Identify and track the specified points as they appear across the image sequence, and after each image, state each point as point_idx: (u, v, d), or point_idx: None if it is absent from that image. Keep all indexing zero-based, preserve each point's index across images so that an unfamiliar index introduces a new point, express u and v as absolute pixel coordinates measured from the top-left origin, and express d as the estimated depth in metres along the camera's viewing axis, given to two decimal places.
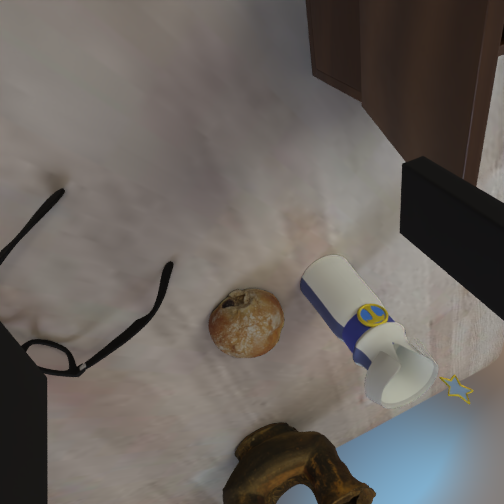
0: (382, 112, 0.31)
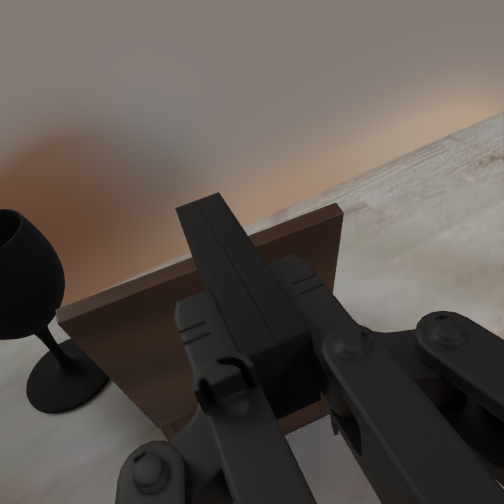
0: None
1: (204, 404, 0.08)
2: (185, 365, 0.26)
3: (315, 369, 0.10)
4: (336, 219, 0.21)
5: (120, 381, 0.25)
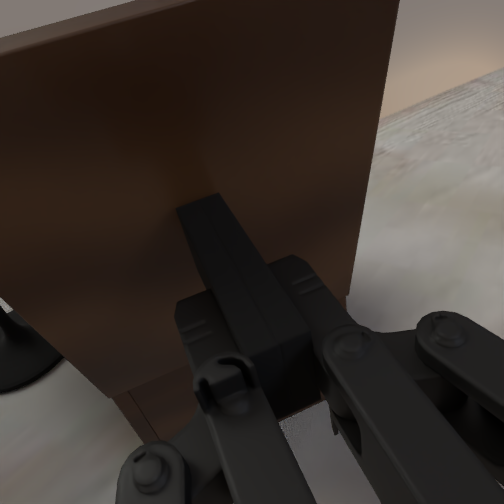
0: (327, 248, 0.20)
1: (204, 404, 0.08)
2: (133, 282, 0.16)
3: (315, 369, 0.10)
4: None
5: (15, 299, 0.14)
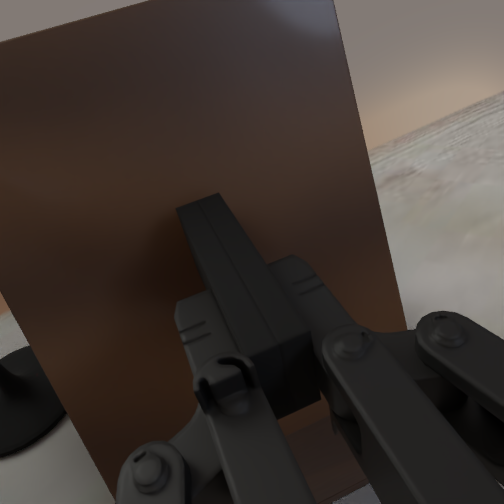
0: (359, 282, 0.18)
1: (204, 404, 0.08)
2: (137, 298, 0.16)
3: (315, 369, 0.10)
4: None
5: (17, 302, 0.15)
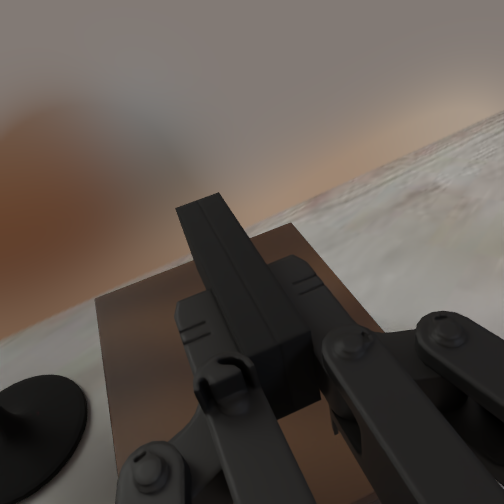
0: None
1: (204, 404, 0.08)
2: (185, 380, 0.22)
3: (315, 369, 0.10)
4: (287, 226, 0.30)
5: (112, 387, 0.22)
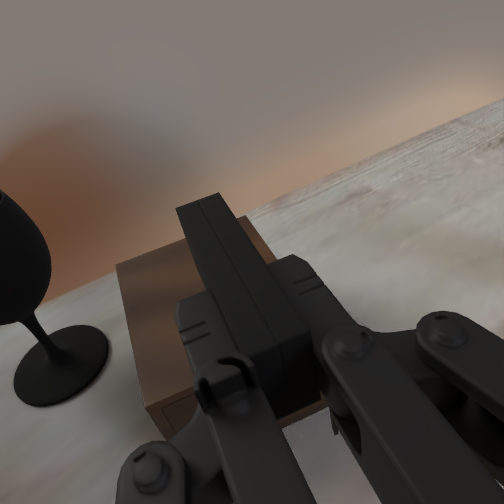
0: None
1: (204, 404, 0.08)
2: (172, 307, 0.37)
3: (315, 369, 0.10)
4: (243, 217, 0.45)
5: (128, 312, 0.37)
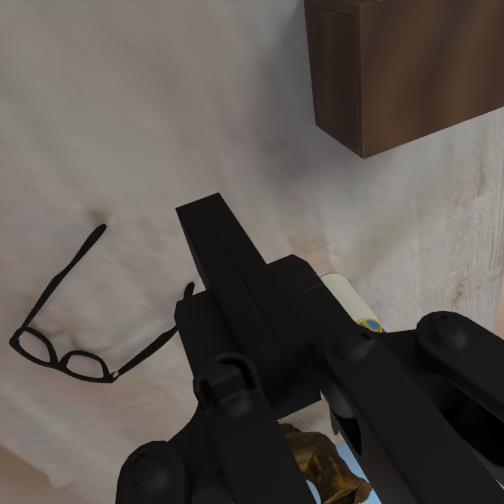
0: (410, 127, 0.44)
1: (204, 404, 0.08)
2: (442, 29, 0.39)
3: (315, 369, 0.10)
4: (502, 103, 0.46)
5: None
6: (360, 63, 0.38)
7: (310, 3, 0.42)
